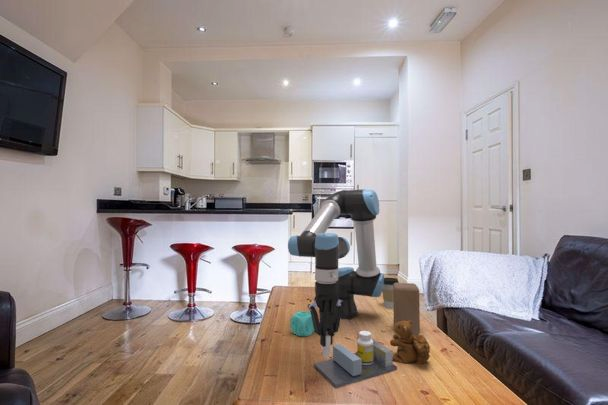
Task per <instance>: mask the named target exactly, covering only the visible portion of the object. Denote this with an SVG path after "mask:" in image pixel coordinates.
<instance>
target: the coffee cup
mask: <svg viewBox="0 0 608 405" xmlns="http://www.w3.org/2000/svg"><path fill="white" fill-rule="evenodd" d="M394 283H400V281H399V279H398V278H395V277H384V284H383V290H382V299H383V307H384V308H387V309H393V284H394Z"/></svg>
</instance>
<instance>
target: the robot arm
mask: <svg viewBox="0 0 608 405" xmlns="http://www.w3.org/2000/svg"><path fill="white" fill-rule="evenodd" d="M379 214H380V202H379V197H378V194H377V193H376V191H375V190H373V189H366V188H365V189H349V190H348V189H347V190H346V189H343V190H338V191H336V192H334V193H332V194H330V195H329V196H328V197H326V198H325V199H324V200H323V201H322V202H321V203H320V209H319V210H318V211H317V212H316V213H315V216H314V217H313V218H312V219H311V221H310V222H309V223H308V224H307V226H306V227H305V229H304V230H303V231H302V232H301V234H300V235H292V236H291V237H290V238H289V239H288V241H287V250H288V252H289V254H290V255H291V256H295V257H300V258H301V257H303V258H314V260H315V261H314V262H315V264H314V274H315V275H314V280H315V282H314V294H315V296H314V299H313V302H312V303H311V304H310V303H309V304H307V308H308V310H309V312H310V313H311V317H312V322H313V326H314V331H313V332H314V333H315V334H316V335H317V336H320V337H319V341H320V342H319V343H320V345H321V346H322V347H321V348H322V349H321V352H322V356H324V357H325V358H326V359H327V358H331V353H332V352H331V350H332V348H331V347H332V346H333V343H334V340H333V339H334V338H333V337H334V336H335V333H338V332H339V328H340V323H341V319H351V318H352V319H353V318H355V317H357V316H358V307H357V304H356V301H355V297H354V296H362V297H370V298H380V297H381V296H382V295H383V293H382V290H383V284H384V278H385V274H384V273H382V272H381V269H380V268H379V267H378V266H377V256H376V245H375V244H376V242H375V229H374V221H375V220H376V219H377V216H379ZM341 215H345V216H350V221H352V222H353V223H354V229H355V230H354V231H355V240H356V253H357V262H358V263H357V264H358V267H357V268H356V269H354V267H350V266H349V267H348V266H347V267H339V260H340V259H343V258H345V257H346V256H347V255H348V254H349V253H350V250H351V249H350V248H351V245H350V242H349V241H348V239H347V238H345V237H342V236H338V234H337V233H334V232H333V233H331V232H327V230H328V229H329V228H330V226H331V224H332V223H333V221H334V220H335V219H337V218H338V217H339V216H341ZM317 309H318V311H317ZM318 312H319V314H318Z"/></svg>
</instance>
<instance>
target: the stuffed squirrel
mask: <svg viewBox="0 0 608 405" xmlns="http://www.w3.org/2000/svg"><path fill="white" fill-rule="evenodd" d="M411 323H412V322H411V321H410V320H409V321H400V322H397V323H396V324H395V326H394V325H393V327H394V329H393V335H392V339H390V342H389V344H390V346H392V347H396V349H397V350H396V354H393V361H394V362H398V363H401V364H409V363H414V362H415V363H417V364H424V363H426V362H427V361H429V359H430V357H431V355H430V352H431V346H430V344H429V342H428V340H427V338H426V337H425V336H424V335H422V334H421V333H420V334H416V335H413V334H412V327H411Z"/></svg>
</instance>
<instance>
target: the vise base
mask: <svg viewBox="0 0 608 405" xmlns="http://www.w3.org/2000/svg"><path fill="white" fill-rule="evenodd" d="M371 339H372V340H373V358H374V361H373V364H371V365H362V364H361V374H360V375H356V376H352V375H351V374H350V373H349V372H347V371H346V370H345V369H344V368H343V367H341V366H340V365H339V364H338V363H337V362H336V361H334V360H333V358H330V359H326V360H325V359H324V360H322V361H318V362H314V363H313V367H314V368H315V370H317V371H318V372H319V373H320V374H321V375H322V376H323V377H324V378H325V379H326V380H327V381H328V382H329V383H330V384H331V385H332V386H333V387H334V389H337V388H341V387H343V386H347V385H351V384H355V383H358V382H360V381H364V380H367V379H371V378H374V377H376V376H377V377H378V376H381V375H384V374H387V373H390V372H394V371H397V370H398V366H397V365H396V364H394V362H393V361H394V360H393V355H394V354H393V350H392V349H391V348H389V347H387V346H385V345H383V344H382V343H381V342H379V341H377V340H375V339H374V338H372V337H371ZM353 353H354V354H355V355H356V356H358V351H357V352H353Z"/></svg>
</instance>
